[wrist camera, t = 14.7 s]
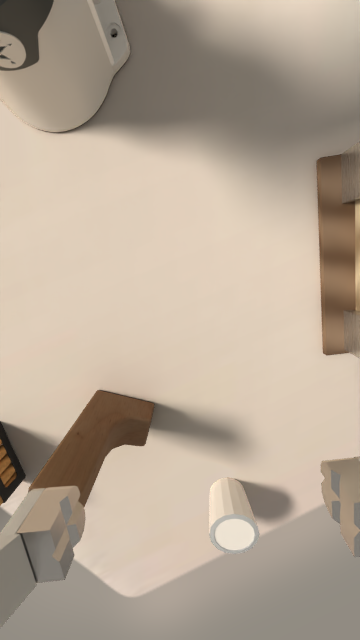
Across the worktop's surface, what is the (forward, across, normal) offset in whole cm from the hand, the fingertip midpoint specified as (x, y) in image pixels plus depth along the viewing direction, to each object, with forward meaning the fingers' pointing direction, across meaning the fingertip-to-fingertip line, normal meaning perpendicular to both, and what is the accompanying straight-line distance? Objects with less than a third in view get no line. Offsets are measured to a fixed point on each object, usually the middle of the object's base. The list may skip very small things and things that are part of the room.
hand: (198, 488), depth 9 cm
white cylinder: (+29, -2, +30) cm, 42 cm away
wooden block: (+29, +12, +13) cm, 34 cm away
